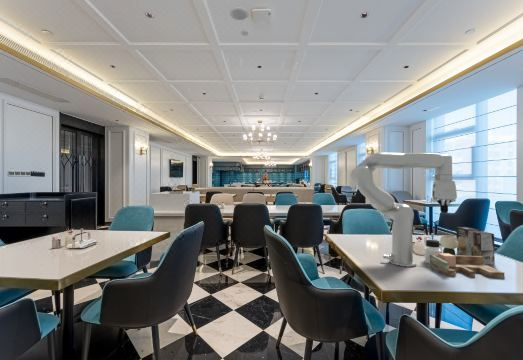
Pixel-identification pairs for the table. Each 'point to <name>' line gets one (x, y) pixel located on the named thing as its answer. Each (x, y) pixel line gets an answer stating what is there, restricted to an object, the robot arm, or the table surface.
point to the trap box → (465, 266)
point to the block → (448, 258)
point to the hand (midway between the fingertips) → (444, 212)
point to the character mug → (449, 243)
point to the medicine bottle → (431, 249)
